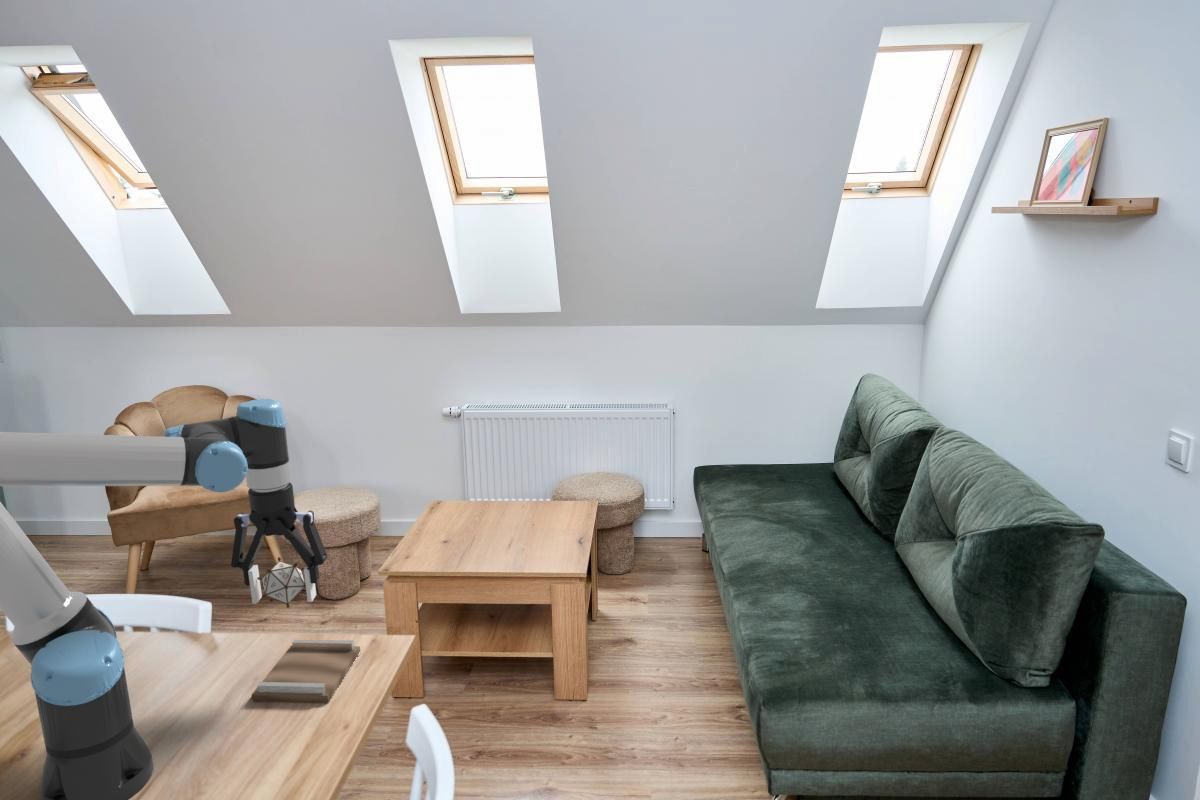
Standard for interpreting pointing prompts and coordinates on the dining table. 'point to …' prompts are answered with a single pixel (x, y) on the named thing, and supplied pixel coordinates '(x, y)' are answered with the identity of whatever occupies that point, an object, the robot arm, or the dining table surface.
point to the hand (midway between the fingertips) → (284, 599)
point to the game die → (283, 582)
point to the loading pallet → (308, 672)
